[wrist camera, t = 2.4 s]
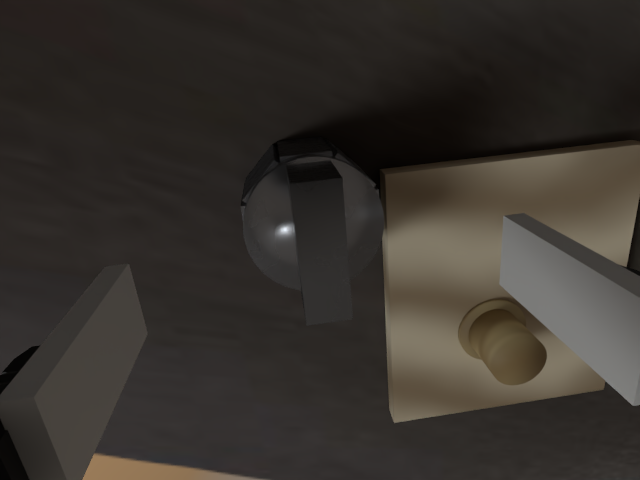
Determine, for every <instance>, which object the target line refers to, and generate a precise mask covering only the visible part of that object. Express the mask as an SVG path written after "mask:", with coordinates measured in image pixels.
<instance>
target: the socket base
mask: <svg viewBox="0 0 640 480" xmlns="http://www.w3.org/2000/svg"><path fill="white" fill-rule="evenodd" d="M380 193H381V204H382V208H383V213H384V231H383V237H382V242H383V267H384V292H385V316H386V341H387V366H388V391H389V410H390V413H391V415H392V418H393V421H394V423H396V422H402V421H408V420H415V419H421V418H427V417H434V416H440V415H446V414H452V413H459V412H465V411H471V410H478V409H484V408H490V407H496V406H503V405H509V404H515V403H522V402H528V401H534V400H541V399H547V398H553V397H559V396H566V395H572V394H578V393H585V392H591V391H597V390H603V389H604V385H605V380H604V379H603V378H602V377H601V376H600V375H599V374H598V373H596V372H595V371H594V370H593V369H592V368H591V367H590V366H589V365H588V364H586V363H585V362H584V361H583V360H582V359H581V358H580V357H579V356H578V355H577V354H575V353H574V352H573V351H572V350H571V349H570V348H569V347H568V346H567V345H566V344H564V343H563V342H562V341H561V340H560V339H559V338H558V337H557V336H556V335H555V334H553V333H552V332H551V331H550V330H549V329H548V328H547V327H546V326H545V325H543V324H542V323H541V322H540V321H539V320H538V319H537V318H536V317H535V316H534V315H532V314H531V313H530V312H529V311H528V310H527V309H526V308H525V307H524V306H523V305H521V304H520V303H519V302H518V301H517V300H516V299H515V298H514V297H513V296H512V295H510V294H509V293H508V292H507V291H506V290H505V289H504V288H503V287H502V286H500V285H499V281H500V265H501V248H502V231H503V216H505V215H512V214H520V213H525V214H527V215H528V216H530V217H532V218H534V219H536V220H538V221H539V222H541V223H543V224H545V225H547V226H549V227H550V228H552V229H554V230H556V231H558V232H560V233H561V234H563V235H565V236H567V237H569V238H571V239H572V240H574V241H576V242H578V243H580V244H582V245H583V246H585V247H587V248H589V249H591V250H593V251H594V252H596V253H598V254H600V255H602V256H604V257H605V258H607V259H609V260H611V261H613V262H615V263H616V264H618V265H621V266H624V267H627V262H628V256H629V251H630V246H631V240H632V235H633V229H634V224H635V219H636V213H637V208H638V203H639V197H640V141H635V140H626V141H618V142H609V143H600V144H592V145H583V146H575V147H566V148H558V149H549V150H540V151H532V152H523V153H515V154H506V155H498V156H489V157H480V158H472V159H463V160H455V161H446V162H437V163H429V164H420V165H412V166H403V167H395V168H386V169H380Z"/></svg>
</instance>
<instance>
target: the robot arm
mask: <svg viewBox="0 0 640 480" xmlns="http://www.w3.org/2000/svg"><path fill="white" fill-rule="evenodd" d="M499 285H500V286H502V287H503V288H504V289H505V290H506V291H507V292H508V293H509V294H510V295H512V296H513V297H514V298H515V299H516V300H517V301H518V302H519V303H520V304H521V305H523V306H524V307H525V308H526V309H527V310H528V311H529V312H530V313H531V314H532V315H534V316H535V317H536V318H537V319H538V320H539V321H540V322H541V323H542V324H543V325H545V326H546V327H547V328H548V329H549V330H550V331H551V332H552V333H553V334H555V335H556V336H557V337H558V338H559V339H560V340H561V341H562V342H563V343H564V344H566V345H567V346H568V347H569V348H570V349H571V350H572V351H573V352H574V353H575V354H577V355H578V356H579V357H580V358H581V359H582V360H583V361H584V362H585V363H586V364H588V365H589V366H590V367H591V368H592V369H593V370H594V371H595V372H596V373H598V374H599V375H600V376H601V377H602V378H603V379H604V380H605V381H606V382H607V383H609V384H610V385H611V386H612V387H613V388H614V389H615V390H616V391H617V392H618V393H620V394H621V395H622V396H623V397H624V398H625V399H626V400H627V401H628V402H629V403H631V404H632V405H633V406H635V405H640V272H639V271H637V270H634V269H631V268H628V267H624V266H621V265H618V264H616V263H615V262H613V261H611V260H609V259H607V258H605V257H604V256H602V255H600V254H598V253H596V252H594V251H593V250H591V249H589V248H587V247H585V246H583V245H582V244H580V243H578V242H576V241H574V240H572V239H571V238H569V237H567V236H565V235H563V234H561V233H560V232H558V231H556V230H554V229H552V228H550V227H549V226H547V225H545V224H543V223H541V222H539V221H538V220H536V219H534V218H532V217H530V216H528V215H527V214H525V213H520V214H512V215H505V216H503V231H502V248H501V265H500V281H499ZM147 334H148V333H147V329H146V325H145V322H144V318H143V314H142V311H141V307H140V303H139V300H138V296H137V292H136V288H135V285H134V281H133V277H132V274H131V270H130V266H129V263H128V264H121V265H113V266H105V268H104V269H103V270H102V271H101V272H100V274H99V275H98V276H97V277H96V279H95V280H94V281H93V282H92V283H91V285H90V286H89V287H88V288H87V289H86V291H85V292H84V293H83V294H82V296H81V297H80V298H79V299H78V300H77V302H76V303H75V304H74V305H73V307H72V308H71V309H70V310H69V311H68V313H67V314H66V315H65V316H64V318H63V319H62V320H61V321H60V322H59V324H58V325H57V326H56V327H55V329H54V330H53V331H52V332H51V333H50V335H49V336H48V337H47V338H46V339H45V341H44V342H43V343H42V344H41V346H34V347H31V348H29V349H28V350H26V351H25V352H24V353H22V354H21V355H19V356H18V357H16V358H15V359H14V360H13V361H12V362H11V363H10V364H9V365H8V367H7V368H6V369H5V370H4V371H3V372H2V375H0V480H82V479H83V477H84V474H85V472H86V470H87V468H88V465H89V463H90V461H91V459H92V456H93V454H94V452H95V450H96V448H97V445H98V443H99V441H100V439H101V437H102V434H103V432H104V430H105V428H106V425H107V423H108V421H109V419H110V416H111V414H112V412H113V410H114V408H115V405H116V403H117V401H118V399H119V396H120V394H121V392H122V390H123V387H124V385H125V383H126V381H127V379H128V376H129V374H130V372H131V370H132V367H133V365H134V363H135V361H136V358H137V356H138V354H139V352H140V350H141V347H142V345H143V343H144V341H145V338H146V336H147Z"/></svg>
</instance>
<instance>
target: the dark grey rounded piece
mask: <svg viewBox="0 0 640 480" xmlns="http://www.w3.org/2000/svg"><path fill="white" fill-rule="evenodd" d="M277 144H278V148H277V147H276V146H274V145H273V144H272V145H271V147H270V148H269V149H268V150H267V152H266V153H265V154H264V156H263V157H262V158H261V159H260V161H259V162H258V163H257V164H256V166H255V167H254V168H253V170H252V171H251V172H250V173H249V175H248V176H247V177H246V180H245V184H244V189H243V195H242V201H241V211H242V217H243V233H244V240H245V244H246V247H247V250H248V253H249V254H250V256H251V258H252V260H253V261H254V263H255V264H256V265H257V267H258V268H259V269H260V270H261V271H262V272H263V273H264V274H265V275H267V276H268V277H269V278H270V279H272V280H274V281H275V282H277V283H279V284H281V285H283V286H286V287H289V288H292V289H296V290H301V294H302V300H303V307H304V313H305V319H306V325H314V324H321V323H329V322H336V321H343V320H350V319H353V316H352V302H351V288H350V280H351V279H353V278H354V277H355V276H357V275H358V274H359V273H361V272H362V271H363V270H364V269H365V268H366V267H367V265H368V264H369V263H370V262H371V260H372V259H373V257H374V256H375V254H376V252H377V250H378V248H379V246H380V243H381V240H382V237H383V231H384V213H383V208H382V204H381V201H380V198H379V189H378V188H377V187H376V186H375V185H376V184H375V183H374V182H373V180H372V179H371V178H370V177H369V176H368V175H367V174H366V173H365V172H364V171H363V170H362V169H361V167H360V166H359V165H358V164H356V163H355V162H354V161H353V160H352V159H350V158H349V157H348V156H347V155H346V154H344V153H343V152H342V151H341V150H340V149H338V148H337V147H336V146H335V145H334V144H333V143H331V142H330V141H329V140H328V139H327V138H326V139H325V140H323V138H322V137H312V138H303V139H294V140H285V141H277Z"/></svg>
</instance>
